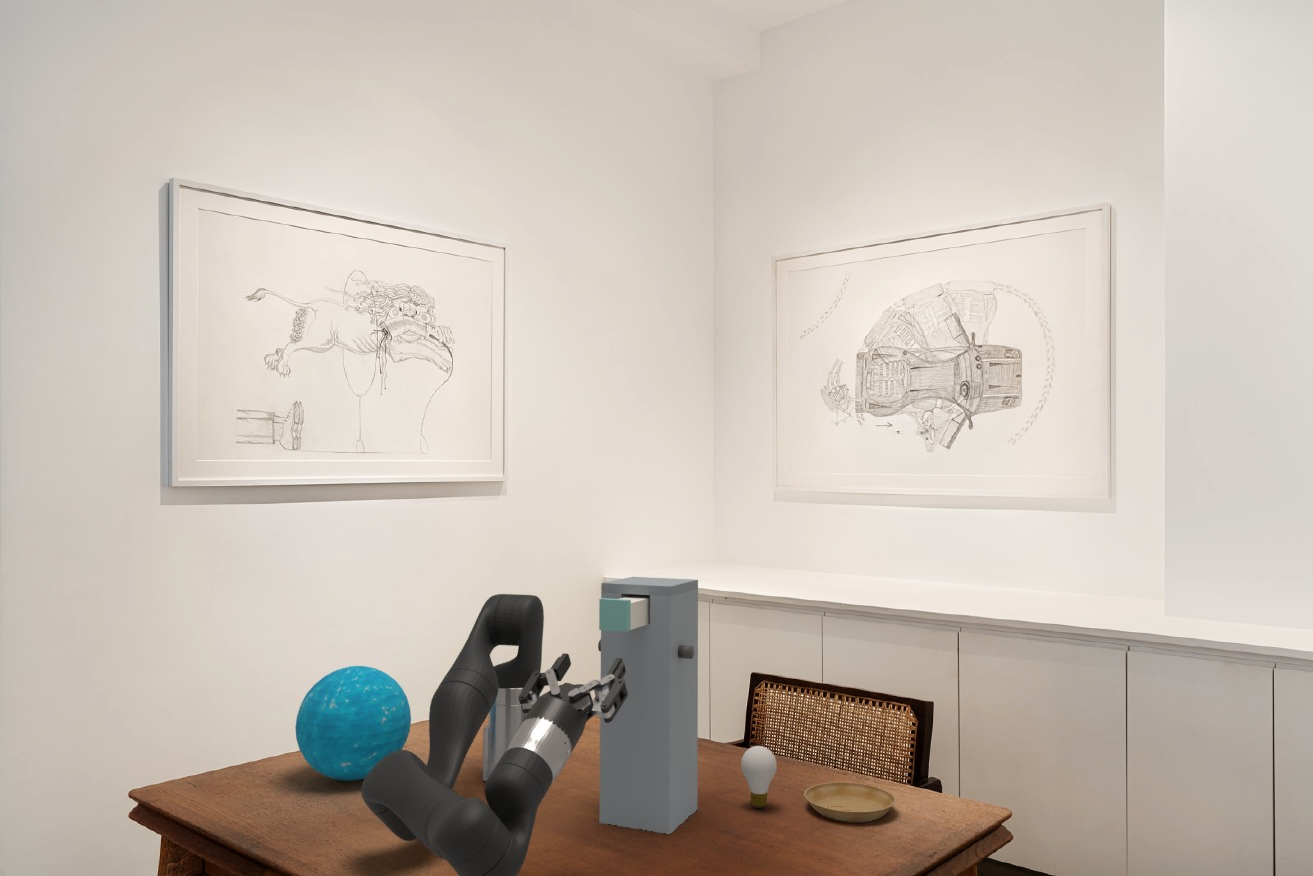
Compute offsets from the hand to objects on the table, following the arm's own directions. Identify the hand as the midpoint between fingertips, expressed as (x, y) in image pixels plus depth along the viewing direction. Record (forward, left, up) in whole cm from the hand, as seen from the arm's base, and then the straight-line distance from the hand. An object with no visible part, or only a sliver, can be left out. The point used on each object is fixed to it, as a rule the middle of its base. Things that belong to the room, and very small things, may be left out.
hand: (593, 660), depth 132 cm
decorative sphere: (-57, +16, -28) cm, 66 cm away
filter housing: (0, +20, -28) cm, 35 cm away
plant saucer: (+29, +36, -29) cm, 55 cm away
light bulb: (+15, +31, -28) cm, 45 cm away
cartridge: (0, +15, +3) cm, 16 cm away
